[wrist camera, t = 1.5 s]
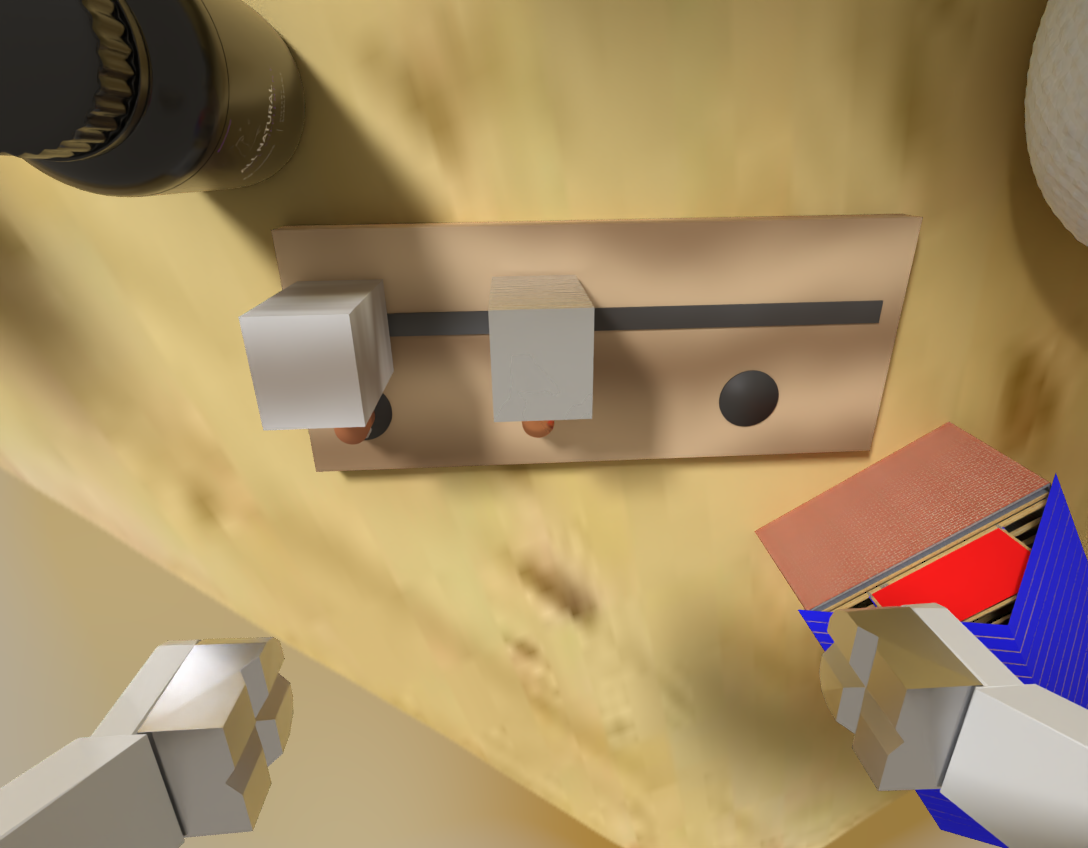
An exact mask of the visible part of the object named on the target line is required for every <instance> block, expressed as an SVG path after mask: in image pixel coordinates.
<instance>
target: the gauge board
mask: <svg viewBox="0 0 1088 848" xmlns="http://www.w3.org/2000/svg"><path fill="white" fill-rule="evenodd" d="M922 218H923V217H918V216H912V215H905V214H874V215H823V216H772V217H721V218H670V219H618V220H567V221H516V222H465V223H414V224H363V225H312V226H282V227H279V228H276V229H273V230H271V231H272V236H273V242H274V247H275V253H276V258H277V263H278V269H279V274H280V279H281V285H282V291H280V292H279V293H277V294H275V295H274V296H272V297H270V298H269V299H267V300H266V301H264V302H262V303H261V304H259V305H257V306H256V307H254V308H253V309H251V310H249V311H248V312H246V313H244V314H243V315H241V316H240V317H239V321H240V326H241V330H242V335H243V339H244V344H245V348H246V353H247V358H248V362H249V367H250V371H251V376H252V380H253V385H254V390H255V394H256V399H257V403H258V408H259V412H260V417H261V421H262V426H263V430H286V429H308V430H309V435H310V440H311V446H312V451H313V457H314V462H315V467H316V472H323V471H349V470H375V469H401V468H427V467H453V466H479V465H505V464H531V463H557V462H583V461H609V460H635V459H661V458H687V457H713V456H739V455H766V454H792V453H818V452H844V451H870V447H871V443H872V438H873V434H874V430H875V425H876V421H877V416H878V412H879V408H880V403H881V399H882V394H883V390H884V386H885V381H886V377H887V372H888V368H889V364H890V359H891V355H892V350H893V346H894V342H895V337H896V333H897V328H898V324H899V320H900V315H901V311H902V306H903V302H904V298H905V293H906V289H907V284H908V280H909V275H910V271H911V267H912V262H913V258H914V253H915V249H916V245H917V240H918V236H919V231H920V227H921V223H922ZM542 275H576V276H577V278H578V280H579V282H580V283H581V285H582V287H583V289H584V290H585V292H586V294H587V296H588V297H589V299H590V301H591V302H592V304H593V306H594V356H593V404H592V419H571V420H554V427H553V430H552V431H551V432H550V433H549V434H548V435H547V436H544V437H541V438H535V437H531V436H529V435H528V434H527V433H526V432H525V431H524V429H523V427H522V421H514V422H494V414H493V395H492V375H491V355H490V335H489V316H488V308H489V299H490V290H491V281H492V277H500V276H542Z"/></svg>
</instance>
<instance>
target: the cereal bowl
mask: <svg viewBox="0 0 1088 848" xmlns="http://www.w3.org/2000/svg"><path fill="white" fill-rule="evenodd" d="M1024 104H1025V120H1026V121H1025V130H1026V141H1027V144H1028V146H1027V150H1028V152H1029V155H1030V164H1031V166H1032V167H1033V173H1034V175H1035V177H1036V179H1037V186H1038V187H1039V188H1040V189H1041V191H1042V194H1043V197H1044V198H1045V200H1046V203H1047V204H1048V205H1049V206H1050V207H1051V209H1052V211H1053V214H1055V215H1056V216H1057V217H1058V218H1059V219H1060V220H1061V222H1062V224H1063V225H1064V227H1065V228H1066V229H1067V230H1069V231H1070V232H1071V233H1072V234H1073V235H1074V237H1075V238H1076V240H1077V241H1079V242H1081V243H1083V244H1084V245H1086V246H1087V247H1088V0H1048V2H1047V6H1046V9H1045V12H1044V14H1043V16H1042V18H1041V23H1040V26H1039V28H1038V32H1037V34H1036V39H1035V41H1034V43H1033V53H1032V56H1031V58H1030V67H1029V70H1028V73H1027V87H1026V97H1025V101H1024Z"/></svg>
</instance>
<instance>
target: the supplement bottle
mask: <svg viewBox="0 0 1088 848" xmlns="http://www.w3.org/2000/svg"><path fill="white" fill-rule="evenodd" d="M304 119H305V97H304V90H303V85H302V81H301V77H300V74H299V71H298V68H297V65H296V63H295V61H294V58H293V56H292V55H291V53H290V51H289V49H288V47H287V46H286V44H285V43H284V41H283V39H282V38H281V37H280V35H279V34H278V33H277V31H276V30H275V29H274V28H273V27H272V26H271V25H270V24H269V23H268V22H267V21H266V20H265V19H264V18H263V17H262V16H261V15H260V14H259V13H258V12H256V11H255V10H254V9H253V8H252V7H250V6H249V5H247V4H246V3H244V2H243V1H242V0H0V155H5V156H16V157H19V158H22V159H24V160H25V161H26V162H28V163H29V164H30V165H32V166H33V167H35V168H37V169H38V170H40V171H41V172H43V173H45V174H46V175H48V176H50V177H52V178H54V179H56V180H58V181H60V182H62V183H64V184H67V185H69V186H72V187H75V188H77V189H80V190H83V191H87V192H91V193H95V194H100V195H106V196H117V197H143V196H155V195H166V194H178V193H189V192H201V191H212V190H223V189H232V188H239V187H246V186H250V185H253V184H256V183H259V182H261V181H263V180H265V179H268V178H269V177H271V176H272V175H274V174H275V173H277V172H278V171H279V170H280V169H281V168H282V167H283V166H284V165H285V164H286V163H287V162H288V160H289V159H290V158H291V156H292V155H293V153H294V151H295V150H296V148H297V145H298V143H299V141H300V138H301V135H302V131H303V126H304Z"/></svg>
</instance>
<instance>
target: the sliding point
mask: <svg viewBox="0 0 1088 848" xmlns="http://www.w3.org/2000/svg"><path fill="white" fill-rule="evenodd" d="M488 316H489V335H490V355H491V375H492V395H493V414H494V422H514V421H522V427H523V429H524V431H525V432H526V433H527V434H528V435H529V436H531V437H535V438H541V437H544V436H547V435H548V434H549V433H550V432H551V431H552V430H553V427H554V420H571V419H592V404H593V356H594V306H593V304H592V302H591V301H590V299H589V297H588V296H587V294H586V292H585V290H584V289H583V287H582V285H581V283H580V282H579V280H578V278H577V276H576V275H542V276H500V277H492V281H491V290H490V299H489V308H488Z"/></svg>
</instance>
